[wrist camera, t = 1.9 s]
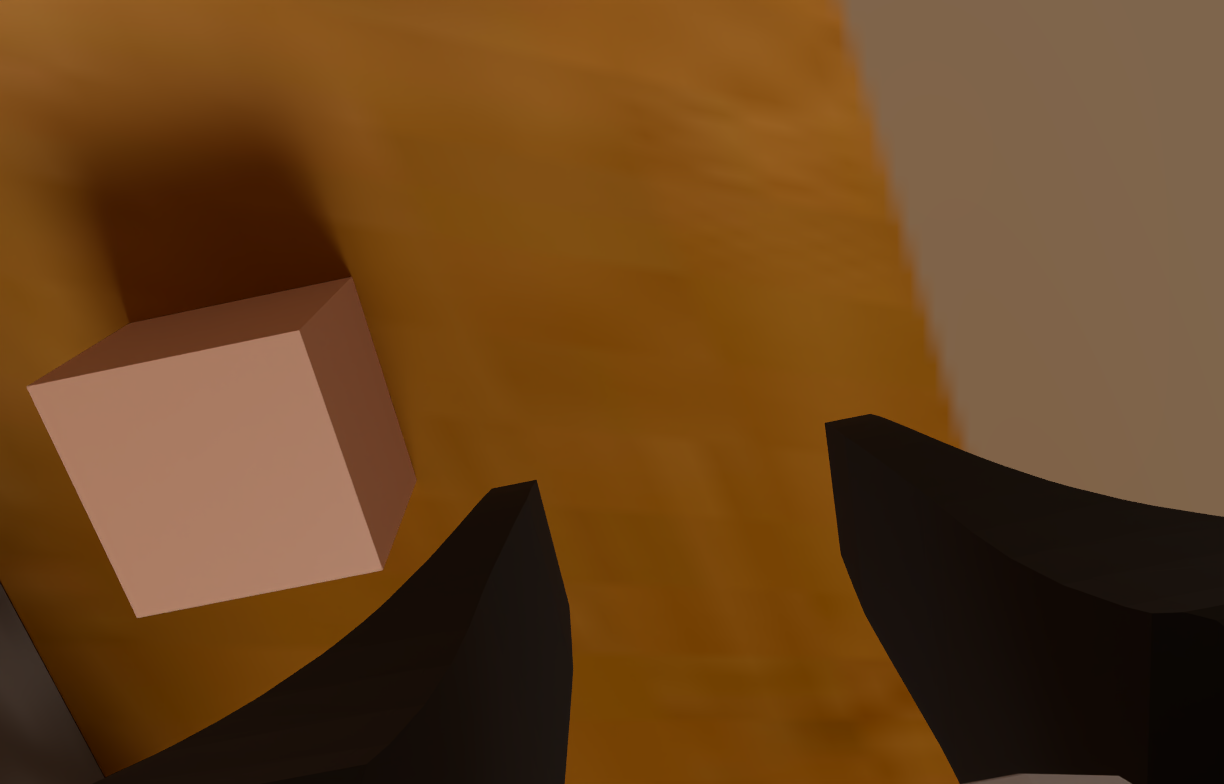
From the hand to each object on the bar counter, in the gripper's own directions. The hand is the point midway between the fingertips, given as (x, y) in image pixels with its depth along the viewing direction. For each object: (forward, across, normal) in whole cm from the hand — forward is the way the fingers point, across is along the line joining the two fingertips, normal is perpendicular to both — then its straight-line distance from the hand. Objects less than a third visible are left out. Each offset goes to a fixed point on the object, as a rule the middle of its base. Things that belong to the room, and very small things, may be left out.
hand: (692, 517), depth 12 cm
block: (+9, +8, 0) cm, 12 cm away
